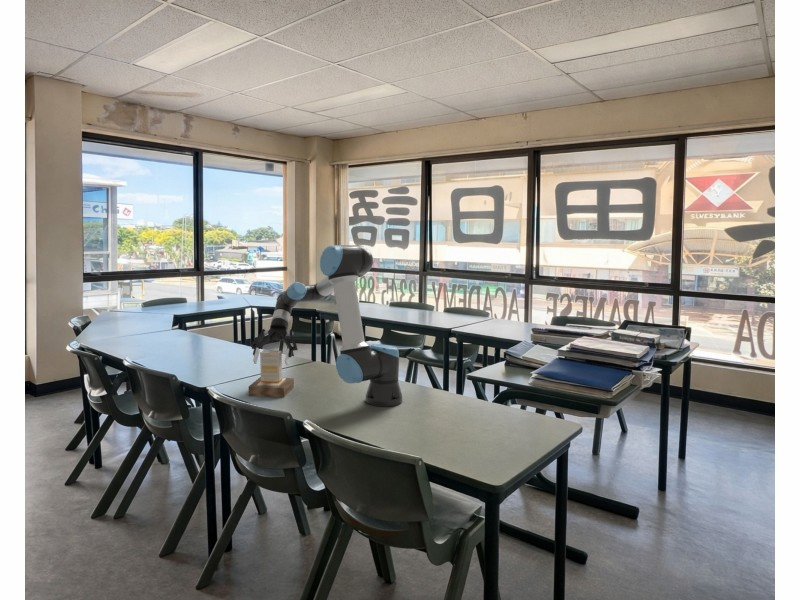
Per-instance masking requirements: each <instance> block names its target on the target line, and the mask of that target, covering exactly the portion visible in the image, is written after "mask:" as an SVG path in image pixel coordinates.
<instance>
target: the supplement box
mask: <svg viewBox="0 0 800 600" xmlns="http://www.w3.org/2000/svg"><path fill="white" fill-rule="evenodd" d="M259 358H260V360H259V362H260V363H259V364H260V377H261V382H273V383H279V382H281V381H282V378H283V353H282V350H268V349H267V350H262V351H260V352H259Z"/></svg>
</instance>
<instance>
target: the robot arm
mask: <svg viewBox="0 0 800 600" xmlns="http://www.w3.org/2000/svg"><path fill="white" fill-rule="evenodd" d="M373 264H374V257H373V254H372V252H371V251H370V249H368V248H367V247H365V246H363V245H359V244H357V245H356V244H355V245H353V244H352V245H351V244H347V245H346V244H335V245H329V246H327V247H325V248H324V249H323V251H322V254H321V255H320V259H319V267H320V271H321V273H322V274H323V275H324V276H325V277H324V278H322V279H321V280H319V281H318V282H317V283H315V284H307V285H306V284H305V283H302V282H300V281H295V282H293V283H292V284H290V285H289V286H288V287H287V289H285V290H283V291H280V292H279V293H278V296H277V298H276V302H275V308H274V311H273V314H272V318H271V319H272V320H271V322H270V327H269V330H267V329H265V328H262V329H261V331H260V333H259V334H258V336H257V337H256V338H255V339H253V341H252V342H251V344H250V346H251V349H252V350H253V351H252V355H253V359H252V361H253V364H257V363H258V360H259V357H260V352H261V351H260V349H262V348H263V347H264V346H265V345H266V344H268V343H269V342H271V341H282V342H283V343H284V344H285V345H286V347H287V350H286V353H285V359H284V364H285V365H286V366H288V365H289V360H290V358H292V356H293V353H294V351H298V350H299V349H298V346H297V343H296V340H295V337H294V331H293V329H289V323H290V319H291V316H292V310H293V308H294V307H295V306H296V305H298V303H307V302H319V301H321V302H323V301H327V300H329V299H331V296H332V293H334V296H335V303H336V308H337V309H336V310H337V316H338V322H339V329H340V334H341V339H342V347H341V348H340V350H339V352H340V354H339V355H338V356H337V358H336V362H335V368H336V372H337V374H338V377H340V379H341V380H343V382H344V383H347V384H350V385H351V384H360V383H362V382H366V381H369V384H368V388H367V390H366V393H365V402H366V404H368V405H371V406H375V407H393V406H398V405H400V404H402V402H403V393H402V390H401V387H400V383H399V375H400V374H399V372H400V371H399V370H400V353H399V348H398V347H397V346H394V345H389V344H380V343H379V344H378V343H377V344H376V343H374V344H373V343H372V344H369V343H367V342H366V341H365V336H364V335H365V334H364V328H363V323H362V316H361V311H360V305H359V297H358V292H357V285H356V280H357V279H358V278H362V277H363V276H364V275H366V274H367V273H368V272H370V270H371V269H372V268H373ZM288 329H289V330H288ZM287 335H288V337H289V338H290V339H291V343H292V345H293V346H292V345H291V343H290V342H289V340H288V339H287V338H286V336H287Z"/></svg>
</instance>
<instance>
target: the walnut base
mask: <svg viewBox="0 0 800 600" xmlns="http://www.w3.org/2000/svg"><path fill="white" fill-rule="evenodd" d="M294 381H295V379H294V378H293V377H282V381H281V382H279V383H273V382H261V376H260V377H258V378H257V379H256V380H255V381H253V382H252V383H251V384H250V385H249V386H248V396H249V397H264V398H265V397H266V398H267V397H269V398H285V397H286V395H288V394H289V393H290V392H291V390H292V389H294V387H295V386H294V385H295V382H294Z"/></svg>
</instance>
